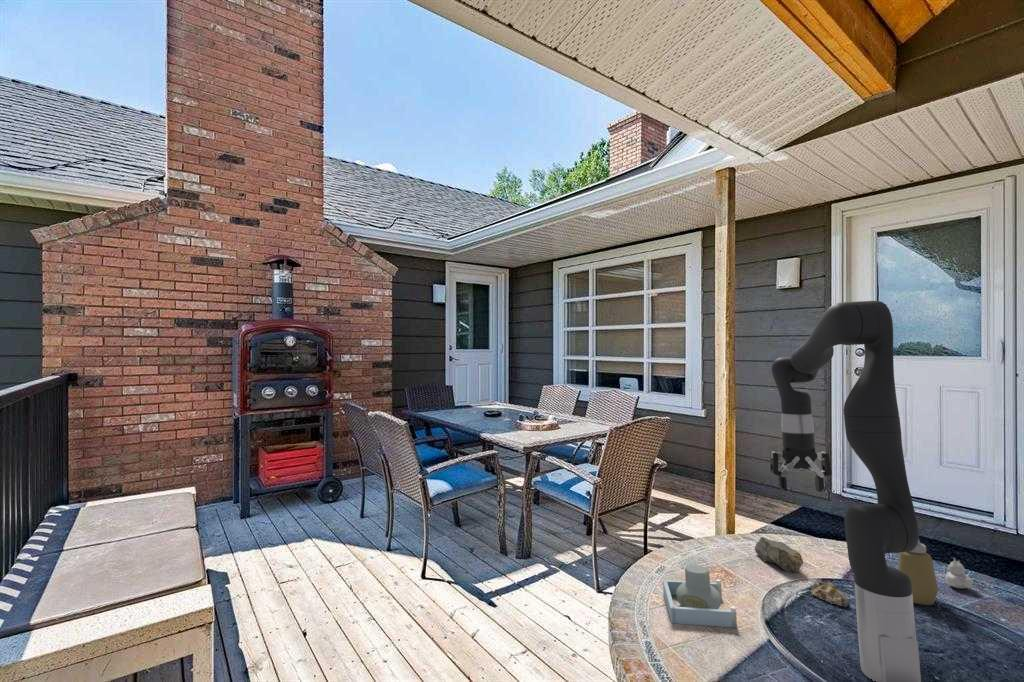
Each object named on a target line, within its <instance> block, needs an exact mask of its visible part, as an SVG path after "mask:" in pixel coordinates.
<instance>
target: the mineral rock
mask: <svg viewBox="0 0 1024 682" xmlns="http://www.w3.org/2000/svg"><path fill="white" fill-rule="evenodd" d="M810 593H811V595H814V596H813V597H815V596H817V597H819V598H822V599H824V600H827V601H829V602H832V603H835V604H838V605H845V606H846V605H847V604H848V605H849V600H848V599H847V596H846V595H845V593H844V592H842V591H840V590H839V589H838V588H837V586H835V585H834V583H832V582H826V583H825V582H824V581H823V580H818V581H817V582H814V583H813V585H812V586H811V590H810ZM817 597H816V598H817Z"/></svg>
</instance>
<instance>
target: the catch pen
mask: <svg viewBox="0 0 1024 682" xmlns="http://www.w3.org/2000/svg"><path fill="white" fill-rule="evenodd" d="M684 582H686V580H675V579H674V580H673V579H662V590H663V591H662V593H663V596H664V600H665V604H666V607H667V611H668V614H669V619H670V623H671V624H681V625H696V626H707V627H708V626H709V627H720V628H721V627H722V628H724V627H725V628H735V629H736V628H738V624H737V620H738V619H737V608H736V606H733V605H732V606H730V609H720V608H718V609H706V608H691V607H683V606H675V604H674V600H673V598H672V596H676V591H677V588H678V587H679V586H680V585H681V584H682V583H684ZM710 585H711V586H713V587H714V588H715V589H716V590H717V591H718V592H719V594H720V596H721V599H722V598H723V597H722V596H723V595H722V594H723V593H722V581H721V579H719V578H718V579H716V580H715V582H712V581H710Z"/></svg>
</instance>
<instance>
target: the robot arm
mask: <svg viewBox="0 0 1024 682" xmlns="http://www.w3.org/2000/svg"><path fill="white" fill-rule="evenodd" d="M893 323H894V322H893V316H892V314H891V311H890V309H889V307H888V305H887V304H886V303H884V302H883V301H880V300H861V301H845V302H844V301H843V302H836V303H834V304H833V305H831V306H829V308H827V309H826V310H825V311H824V313H823V314H822V316H821V317H820V319H819V320H818V323H816V325H815V326H814V329H813V330H812V332H811V334H810V335H809V337H808V338H807V339H806V340H805V342H803V343H802V344H801V345H800V346H798V347H797V348H796V349H795V350H794V351H793V352H792V354H791V356H789V357H787V356H786V357H777V358H775V360H774V361H773V362H772V365H771V374H772V376H773V377H772V378H773V380H774V381H775V385H776V388H777V390H778V393H779V398H780V406H781V419H780V421H781V422H780V423H781V425H780V426H781V427H780V429H781V437H782V438H781V441H782V442H781V443H782V451H781V452H776V451H774V450H772V451H770V453H769V454H770V456H769V457H770V461H769V466H770V467H769V470H770V473H772V474H773V475H776V476H777V477H778V480H777V481H778V487H779V488H780V489H781V490H782V491H783V492H787V491H788V487H787V486H788V485H787V477H786V476H787V474H789V472H791V471H792V470H793V469H797V470H798V469H805V470H809V469H810V470H811V471H812V472H813V473H814V475H815V476H814V485H815V487H814V488H815V491H816V492H818V493H822V492H823V490H824V489H825V484H824V483H825V482H824V479H825V477H827V476H829V477H830V476H832V466H831V459H830V453H828V452H826V451H819V452H816V444H815V443H816V442H815V429H814V428H815V427H814V419H813V415H812V399H811V395H810V394H809V393H808V392H805V391H800V390H796V389H794V388H793V387H792V384H796V383H797V384H800V383H801V384H802V383H803V384H804V383H809V382H812V381H814V380H815V379H816V377H817V374H818V372H819V371H820V369H822V368H823V367H825V366H826V365H827V364H828V363H829V362H831V359H833V356H834V353H835V352H834V351H835V350H834V346H838V345H842V346H856V345H857V346H860V345H861V346H862V345H863V346H864V361H863V362H864V363H863V368H862V371H861V373H860V375H859V376H858V379H856V382H855V384H854V385H853V387H852V389H851V390H850V392H849V394H848V396H847V397H846V399H845V402H844V405H843V419H844V428H845V435H846V440H847V442H848V444H849V446H850V447H851V449H852V450H853V451H854V453H855V454H856V455H857V457H858V458H859V460H860V461H861V462H862V463H863V464H864V466H865V468H867V470H868V472H869V473H870V474H871V477H872V479H873V482H874V485H875V486H874V487H875V491H876V497H877V498H876V499H877V503H876V504H875V503H873V504H857V505H852V506H850V507H848V508H847V510H846V512H845V514H844V521H843V522H844V532H845V541H846V548H847V555H848V562H849V566H850V568H851V571H852V575H853V585H854V597H855V609H856V610H855V612H856V613H855V614H856V624H857V626H856V627H857V637H858V638H857V639H858V648H859V649H858V651H859V652H858V653H859V662H860V669H861V672H862V673H863V674H864V676H865V677H867V678H868V679H869V680H871V679H872V680H871V681H873V682H874V681H876V682H922V678H921V677H922V676H921V667H920V666H921V664H920V655H919V653H920V652H919V642H918V640H917V634H916V633H917V632H916V622H915V612H914V603H913V594H912V583H911V580H910V578H909V577H908V576H907V575H906V574H905V573H903V572H901V571H899V570H898V569H897V568H895V567H892V566H889V565H887V560H886V554H897V553H898V554H899V553H902V552H909V551H912V550H914V549H915V547H916V546H917V544H918V539H919V540H920V537H919V535H920V533H919V532H920V530H919V526H918V524H919V523H918V521H917V515H916V511H915V507H914V503H913V500H912V499H913V498H912V494H911V490H910V485H909V481H908V477H907V469H906V464H905V458H904V449H903V437H902V425H901V420H900V419H901V418H900V412H899V406H898V400H897V392H896V383H895V382H896V381H895V370H894V369H895V368H894V366H895V365H894V324H893ZM781 458H783V460H784V462H783V463H782V464H781V467H780V469H779V461H780V460H781ZM817 459H818V460H819V461H820V464H821V465H820V466H821V469H820V468H819V467H818V465H816V463H815V461H816V460H817Z"/></svg>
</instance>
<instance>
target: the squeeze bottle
mask: <svg viewBox="0 0 1024 682" xmlns="http://www.w3.org/2000/svg"><path fill="white" fill-rule="evenodd" d="M897 568H898V569H897V570H899V571H901V572H903V573H905V574H906V575H907V576H908V577H909V578H910V580H911V583H912V594H913V604H918V605H924V606H932V605H934V603H935V601H936V598H937V595H938V593H939V587H938V582H937V577H936V572H935V568H934V562H933V557H932V556H931V555H930V554H929V553H927V546H926V545H925V544H924V543H921V540H920V538H919V539H918V544H917V546H916V547H915V549H914V550H912V551H909V552H902V553H898V566H897Z"/></svg>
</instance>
